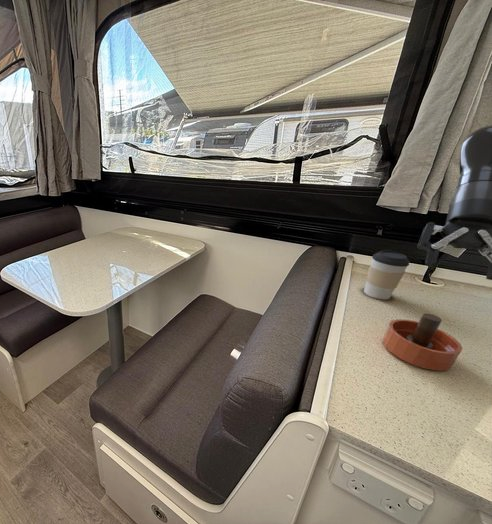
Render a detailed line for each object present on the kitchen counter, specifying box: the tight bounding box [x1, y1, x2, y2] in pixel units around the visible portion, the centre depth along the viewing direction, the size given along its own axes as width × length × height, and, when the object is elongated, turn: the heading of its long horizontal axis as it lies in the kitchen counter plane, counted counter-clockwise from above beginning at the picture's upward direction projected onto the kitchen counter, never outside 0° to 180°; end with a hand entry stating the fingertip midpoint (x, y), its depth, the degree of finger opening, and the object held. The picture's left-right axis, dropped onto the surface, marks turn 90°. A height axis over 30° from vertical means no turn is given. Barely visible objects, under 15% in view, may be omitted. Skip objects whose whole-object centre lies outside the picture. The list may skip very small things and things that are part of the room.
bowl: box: [382, 319, 463, 371], centre depth 65 cm, size 12×12×6 cm
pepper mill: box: [406, 312, 443, 349], centre depth 64 cm, size 5×5×10 cm
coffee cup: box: [363, 249, 411, 300], centre depth 88 cm, size 9×9×15 cm
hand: (460, 272), depth 56 cm, fingers open, 8 cm apart
